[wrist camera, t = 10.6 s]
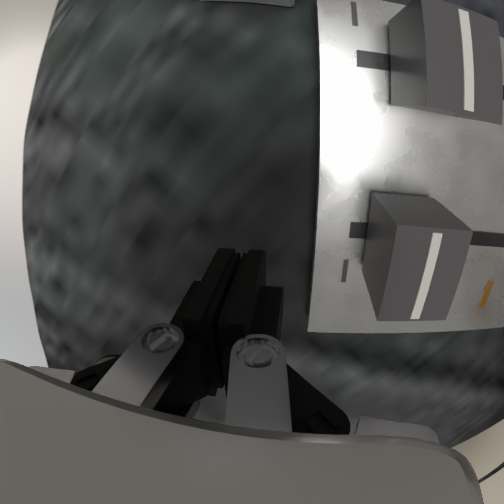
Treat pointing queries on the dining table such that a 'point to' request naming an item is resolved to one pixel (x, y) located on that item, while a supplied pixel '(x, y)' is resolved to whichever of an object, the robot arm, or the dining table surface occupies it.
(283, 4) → the skincare box
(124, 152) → the dining table surface
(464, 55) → the fader
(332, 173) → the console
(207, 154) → the dining table surface
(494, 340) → the dining table surface
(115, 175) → the dining table surface
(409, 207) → the fader
